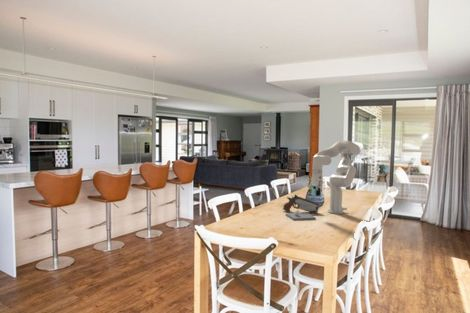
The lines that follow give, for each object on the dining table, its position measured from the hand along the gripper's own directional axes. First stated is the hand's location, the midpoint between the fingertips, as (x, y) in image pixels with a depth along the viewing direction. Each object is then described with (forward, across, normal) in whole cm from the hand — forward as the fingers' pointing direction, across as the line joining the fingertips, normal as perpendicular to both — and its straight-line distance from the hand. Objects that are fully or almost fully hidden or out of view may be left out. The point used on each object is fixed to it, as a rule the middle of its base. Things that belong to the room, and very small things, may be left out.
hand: (316, 194), depth 256 cm
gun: (+18, +18, +4) cm, 26 cm away
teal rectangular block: (+1, 0, 0) cm, 1 cm away
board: (+18, +1, +12) cm, 22 cm away
